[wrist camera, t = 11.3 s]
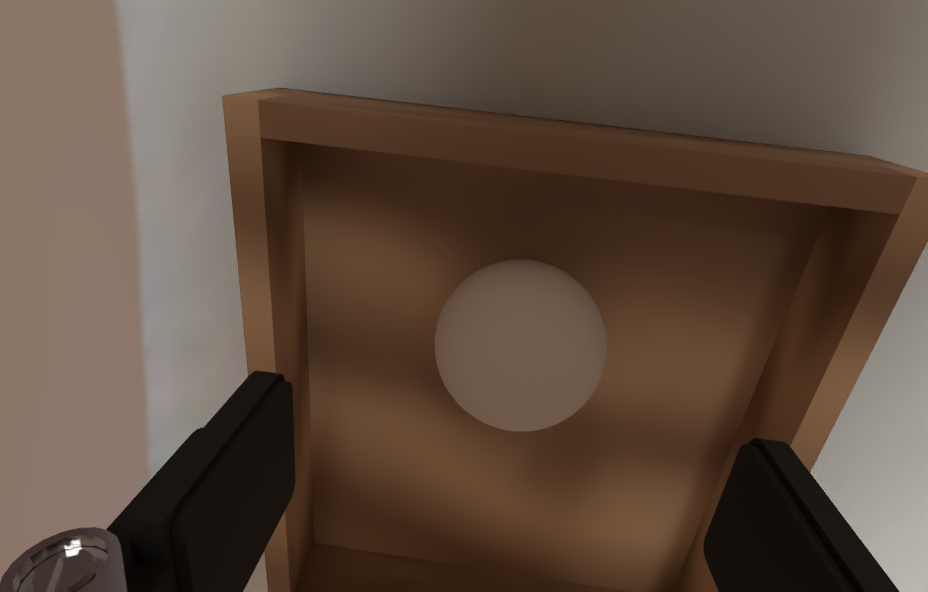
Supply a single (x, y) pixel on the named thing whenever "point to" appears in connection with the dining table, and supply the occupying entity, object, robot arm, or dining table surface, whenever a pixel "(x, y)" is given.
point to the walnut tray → (617, 297)
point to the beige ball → (520, 345)
